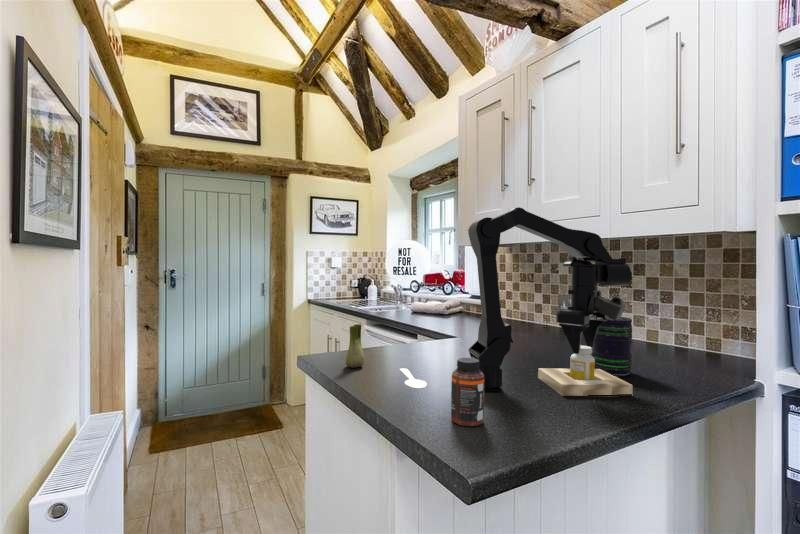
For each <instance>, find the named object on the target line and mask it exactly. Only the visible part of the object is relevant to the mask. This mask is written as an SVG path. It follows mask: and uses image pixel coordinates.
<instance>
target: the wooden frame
mask: <svg viewBox="0 0 800 534" xmlns="http://www.w3.org/2000/svg"><path fill="white" fill-rule="evenodd" d="M537 379H539V380H540V381H541V382H542V383H544V384H546V386H548V387H549V388H551V389H552V390H553V391H555V392H556V393H557V394H559V395H560V396H562V397H563V396H566V397H567V396H569V397H572V396H573V397H579V396H580V397H581V396H582V397H589V396H588V395H617V394H632V395H633V392H634V391H633V389H634V387H633V384H631V383H629V382H627V381H626V380H623V379H621V378H619V377H618V376H613V375H611V374H609V373H607V372H605V371H603V370H601V369H594V380H574V379H573V378H571V377H570V368H560V367H559V368H556V367H555V368H554V367H553V368H551V367H549V368H548V367H547V368H545V367H543V368H542V367H540V368H538V371H537Z"/></svg>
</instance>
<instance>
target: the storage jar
mask: <svg viewBox="0 0 800 534" xmlns="http://www.w3.org/2000/svg"><path fill="white" fill-rule="evenodd" d="M601 319H602V320H607V321H606V322H605V323H603V324H602V325H601V326H599V328H598V331H597V334H596V338H595V341H594V344H593V347H592V353H591V356H593V357H594V359H595V369H601V370H603V371H605V372H607V373H609V374H627V373H630V372H631V373H632V371H631V369H632V364H633V363H632V358H633V356H632V354H631V341H632V339H633V334H632V333H633V327H632V326H633V325H632V323H633V322H632V321H633V319H632V318H630V317H626V316H625V317H624V316H623V317H622V316H621V318H620V319H617V320H614V319H611V318H608V319H603V318H601Z"/></svg>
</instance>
